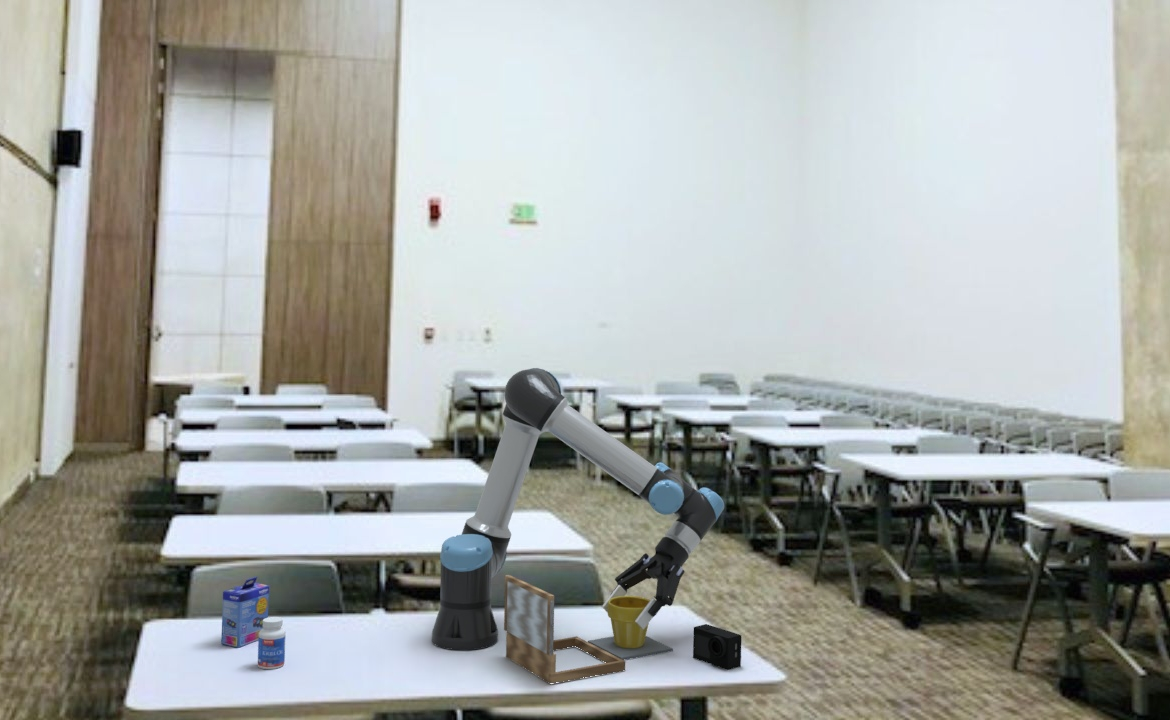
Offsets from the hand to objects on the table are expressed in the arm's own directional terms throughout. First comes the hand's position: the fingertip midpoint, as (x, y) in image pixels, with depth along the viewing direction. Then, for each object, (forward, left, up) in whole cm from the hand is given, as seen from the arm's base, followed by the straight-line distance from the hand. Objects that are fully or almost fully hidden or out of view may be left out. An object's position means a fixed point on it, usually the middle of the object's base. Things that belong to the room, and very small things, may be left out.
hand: (622, 618), depth 221 cm
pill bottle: (-25, -72, -7) cm, 76 cm away
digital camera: (+18, +13, -7) cm, 23 cm away
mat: (0, +2, -7) cm, 7 cm away
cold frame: (+3, -17, -7) cm, 18 cm away
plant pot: (0, +2, -7) cm, 7 cm away
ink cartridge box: (-45, -73, -7) cm, 86 cm away
